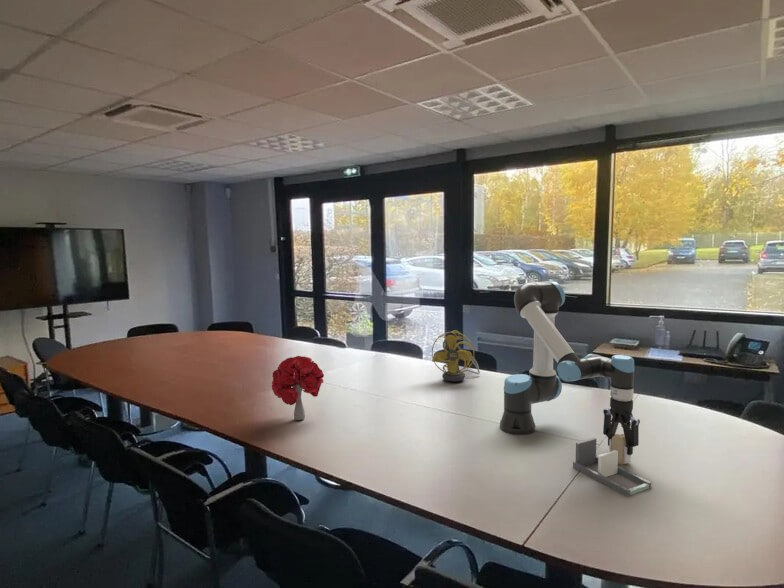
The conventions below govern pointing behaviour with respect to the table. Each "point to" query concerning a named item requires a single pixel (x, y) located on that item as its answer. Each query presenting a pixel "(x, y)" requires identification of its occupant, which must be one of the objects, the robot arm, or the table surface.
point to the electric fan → (454, 357)
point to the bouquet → (297, 382)
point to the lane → (588, 456)
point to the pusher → (608, 463)
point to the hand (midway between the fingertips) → (619, 458)
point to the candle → (619, 446)
